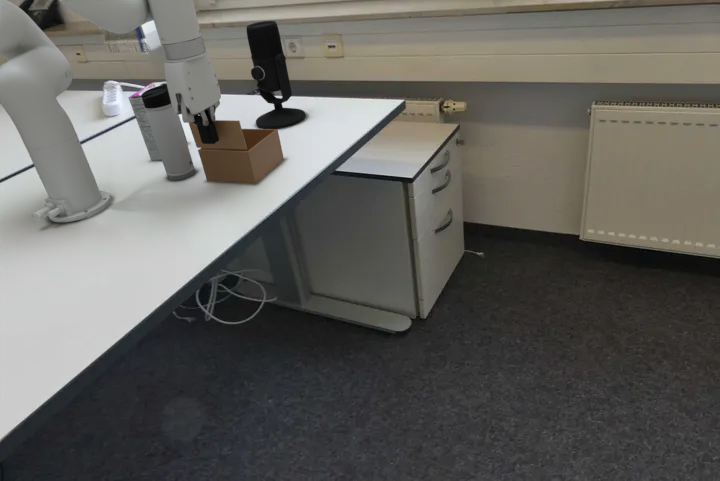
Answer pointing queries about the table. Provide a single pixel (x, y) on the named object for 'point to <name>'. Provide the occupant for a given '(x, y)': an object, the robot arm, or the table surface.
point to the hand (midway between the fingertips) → (210, 142)
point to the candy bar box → (146, 121)
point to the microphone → (271, 75)
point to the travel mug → (168, 133)
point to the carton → (244, 158)
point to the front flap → (222, 135)
